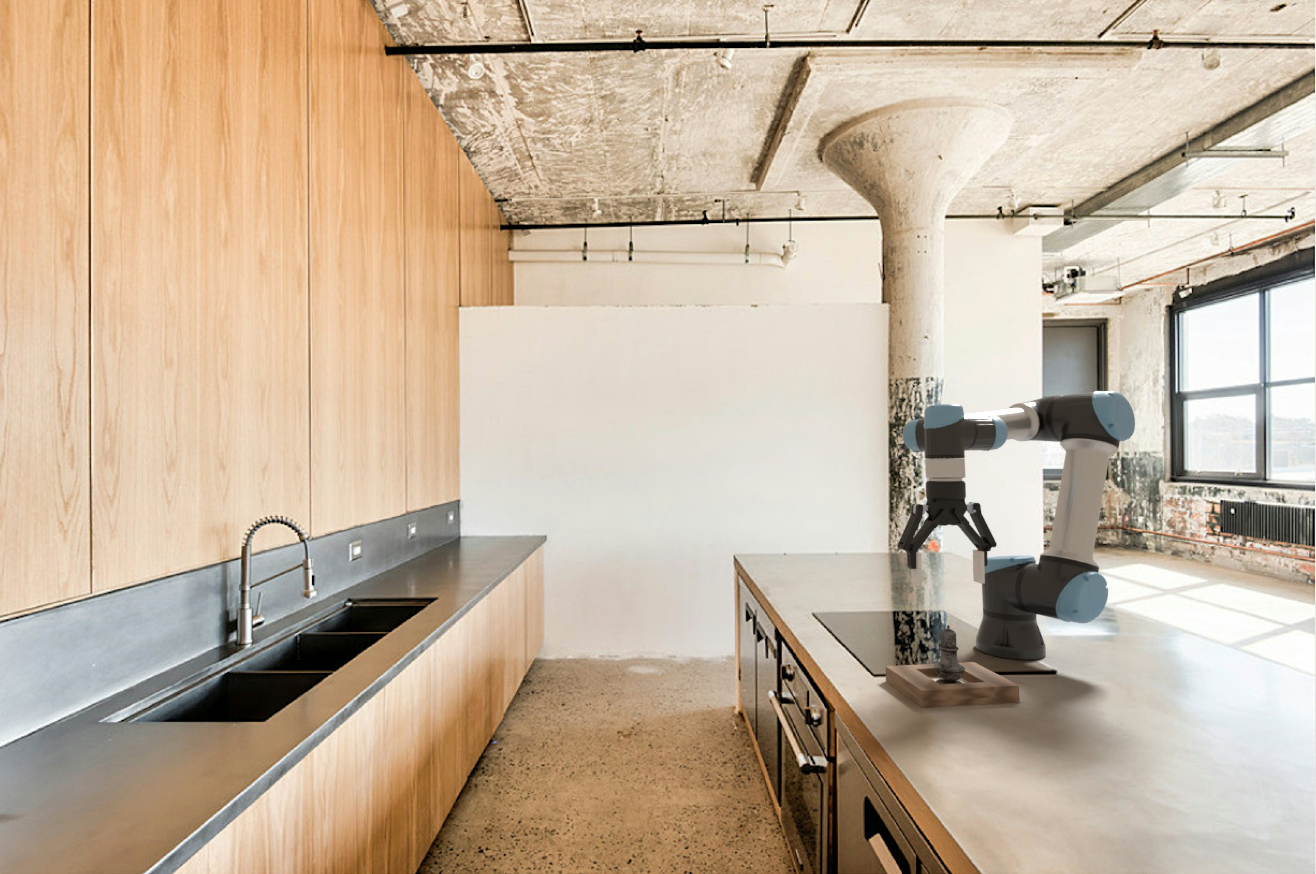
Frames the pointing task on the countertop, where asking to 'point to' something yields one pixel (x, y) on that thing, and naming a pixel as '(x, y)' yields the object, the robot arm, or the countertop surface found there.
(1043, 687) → the countertop surface
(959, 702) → the wooden frame
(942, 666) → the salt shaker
